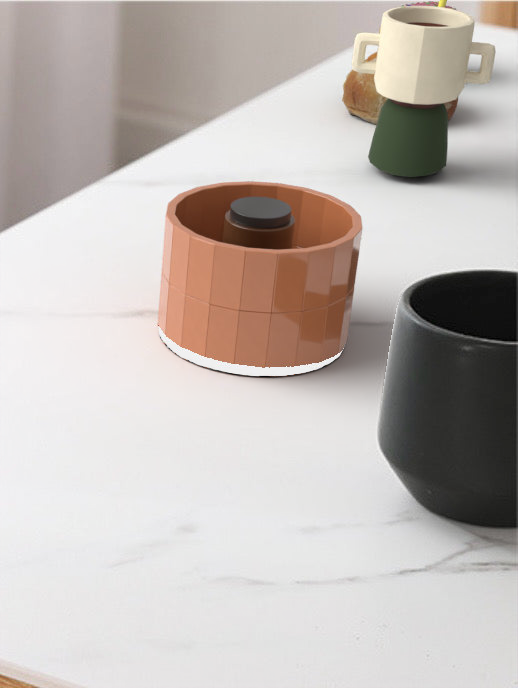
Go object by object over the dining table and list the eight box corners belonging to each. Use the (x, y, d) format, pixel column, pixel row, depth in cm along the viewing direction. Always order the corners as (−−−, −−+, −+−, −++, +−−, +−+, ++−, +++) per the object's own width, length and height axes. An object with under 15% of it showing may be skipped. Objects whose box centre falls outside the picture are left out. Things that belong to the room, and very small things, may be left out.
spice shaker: (282, 316, 105) (296, 197, 101) (282, 344, 101) (296, 222, 97) (216, 311, 106) (226, 192, 102) (213, 339, 102) (224, 217, 98)
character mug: (476, 165, 132) (503, 11, 126) (470, 193, 126) (498, 33, 120) (344, 150, 135) (364, -1, 129) (333, 177, 130) (352, 21, 123)
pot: (342, 304, 108) (358, 187, 104) (348, 385, 97) (366, 259, 93) (164, 290, 110) (172, 175, 106) (151, 368, 100) (160, 244, 96)
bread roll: (352, 163, 143) (378, 98, 136) (319, 86, 149) (343, 20, 142) (455, 157, 144) (485, 91, 138) (418, 80, 150) (446, 14, 144)
